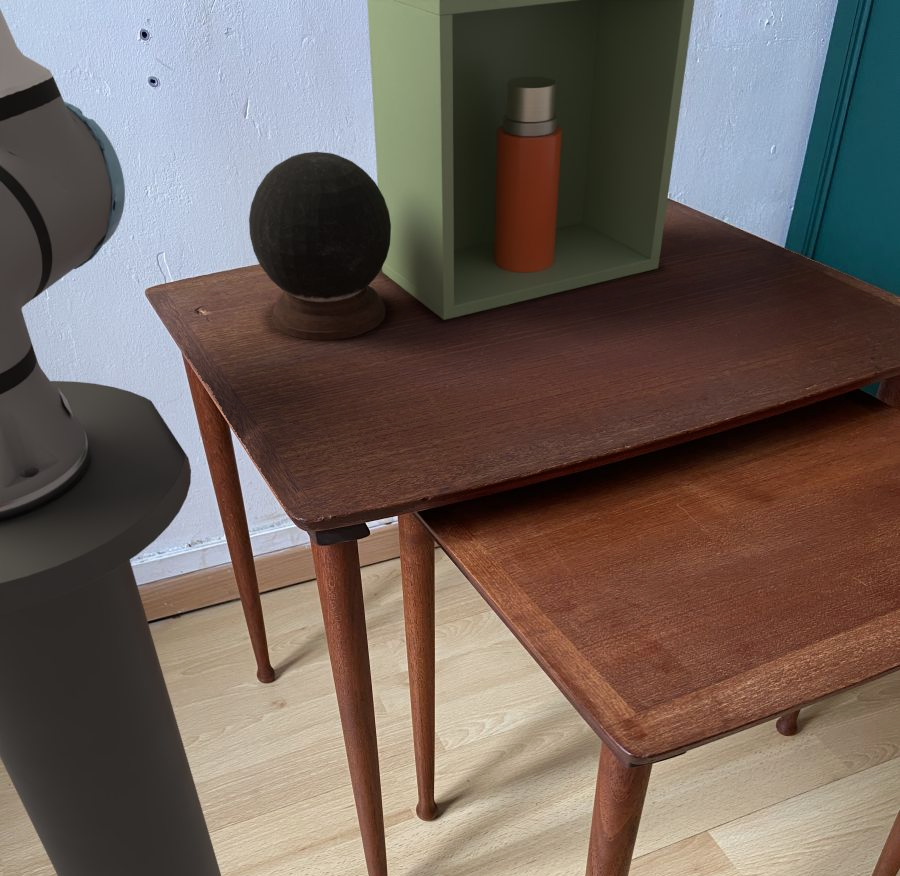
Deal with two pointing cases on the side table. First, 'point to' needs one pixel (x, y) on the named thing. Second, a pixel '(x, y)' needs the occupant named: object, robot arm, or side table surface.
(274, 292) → the side table surface
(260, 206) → the black ball on stand
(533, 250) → the spray can
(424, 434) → the side table surface
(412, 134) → the cupboard
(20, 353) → the robot arm
